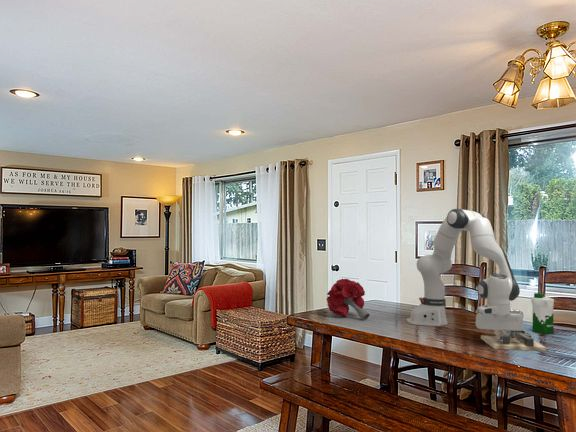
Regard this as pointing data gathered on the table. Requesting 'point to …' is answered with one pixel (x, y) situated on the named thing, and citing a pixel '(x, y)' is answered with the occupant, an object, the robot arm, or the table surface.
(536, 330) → the milk carton
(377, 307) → the table surface
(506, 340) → the tongs arm
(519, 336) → the tongs fixed
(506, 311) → the robot arm
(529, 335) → the burger
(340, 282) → the bouquet
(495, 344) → the board
